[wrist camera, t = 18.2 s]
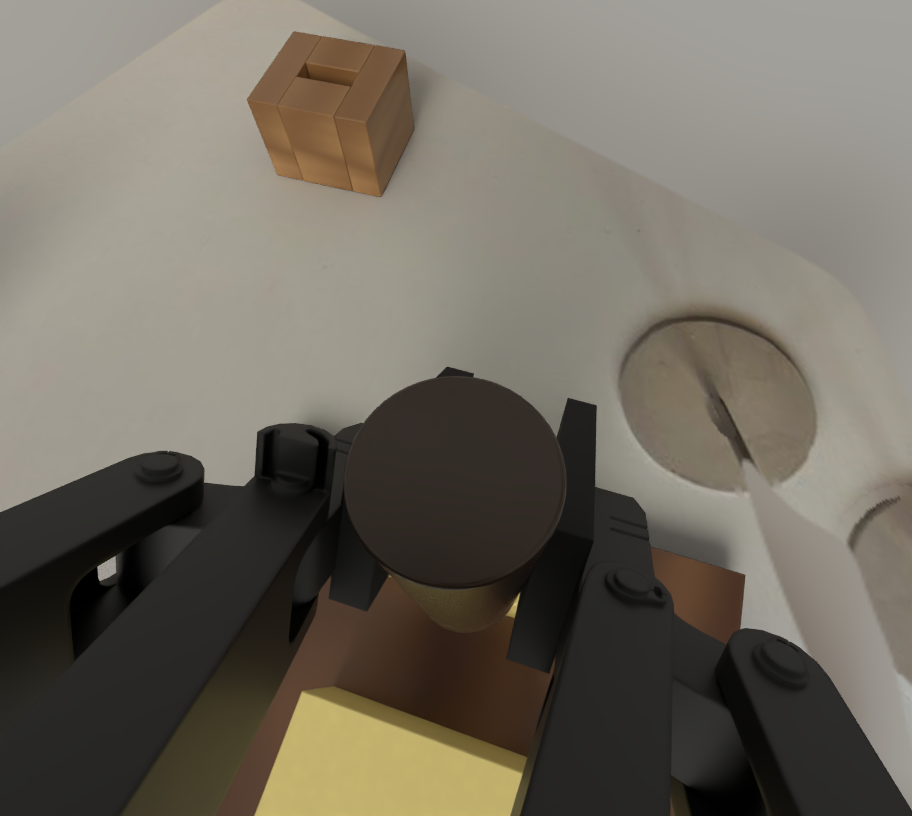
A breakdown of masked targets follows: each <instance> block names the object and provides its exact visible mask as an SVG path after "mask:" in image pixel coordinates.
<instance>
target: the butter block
mask: <svg viewBox="0 0 912 816" xmlns="http://www.w3.org/2000/svg"><path fill="white" fill-rule="evenodd" d="M526 760H527V757H525V756H523V755H520V754H517V753H514V752H512V751H509V750H506V749H503V748H501V747H498V746H495V745H493V744H490V743H487V742H484V741H482V740H479V739H476V738H473V737H471V736H468V735H465V734H463V733H460V732H457V731H454V730H452V729H449V728H446V727H443V726H441V725H438V724H435V723H433V722H430V721H427V720H424V719H422V718H419V717H416V716H413V715H411V714H408V713H405V712H403V711H400V710H397V709H394V708H392V707H389V706H386V705H383V704H381V703H378V702H375V701H373V700H370V699H367V698H364V697H362V696H359V695H356V694H353V693H351V692H348V691H345V690H343V689H340V688H337V687H334V686H332V687H325V688H318V689H311V690H304V691H302V692H301V695H300V698H299V700H298V703H297V705H296V708H295V711H294V713H293V716H292V718H291V721H290V724H289V726H288V729H287V732H286V734H285V737H284V739H283V742H282V745H281V747H280V750H279V752H278V755H277V758H276V760H275V763H274V766H273V768H272V771H271V773H270V776H269V779H268V781H267V784H266V786H265V789H264V792H263V794H262V797H261V800H260V802H259V805H258V807H257V810H256V813H255V815H254V816H510V815H511V811H512V808H513V805H514V801H515V798H516V794H517V791H518V787H519V784H520V781H521V777H522V774H523V770H524V767H525V764H526Z"/></svg>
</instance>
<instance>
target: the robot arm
mask: <svg viewBox="0 0 912 816" xmlns="http://www.w3.org/2000/svg"><path fill="white" fill-rule="evenodd" d="M473 375H474V373H470V372H466V371H462V370H458V369H454V368H450V367H446V368H445V369H444V370H443V371H442V372H441V373H440V374H439V375H438V376H437V377H436V378H439V377H448V376H464V377H473ZM596 410H597V405H593V404H589V403H585V402H582V401H578V400H574V399H570V398H568V399H567V403H566V406H565V410H564V414H563V417H562V421H561V424H560V428H559V431H558V435H557V440H558V443H559V445H560V448H561V450H562V454H563V458H564V462H565V469H566V478H567V481H566V497H565V503H564V508H563V511H562V514H561V517H560V520H559V523H558V525H557V527H556V529H555V531H554V533H553V535H552V537H551V539H550V540H549V542H548V544H547V546H546V547H545V549H544V551H543V553H542V555H541V556H540V558H539V560H538V562H537V563H536V565H535V567H534V569H533V570H532V572H531V574H530V576H529V577H528V579H527V581H526V583H525V585H524V586H523V588H522V590H521V592H520V596H519V600H518V605H517V610H516V614H515V619H514V624H513V629H512V633H511V638H510V643H509V647H508V652H507V657H506V659H507V660H510V661H513V662H516V663H519V664H522V665H525V666H528V667H530V668H533V669H536V670H539V671H542V672H545V673H548V674H549V673H550V670H551V667H552V664H553V661H554V658H555V665H554V672H553V675H552V677H551V680H550V683H549V686H548V689H547V692H546V695H545V698H544V701H543V704H542V707H541V710H540V713H539V716H538V719H537V722H536V725H535V733H534V736H533V740H532V743H531V747H530V750H529V753H528V757H527V760H526V764H525V767H524V770H523V774H522V777H521V781H520V784H519V787H518V791H517V794H516V798H515V801H514V805H513V808H512V811H511V815H510V816H670V809H671V801H672V806H673V810H674V815H675V816H912V810H911V808H910V807H909V805H908V803H907V802H906V800H905V799H904V797H903V795H902V794H901V792H900V791H899V789H898V787H897V786H896V784H895V783H894V781H893V779H892V778H891V776H890V774H889V773H888V771H887V769H886V768H885V767H884V765H883V763H882V761H881V760H880V759H879V757H878V755H877V753H876V752H875V750H874V748H873V747H872V745H871V744H870V742H869V741H868V739H867V737H866V736H865V734H864V732H863V731H862V729H861V728H860V726H859V724H858V723H857V721H856V719H855V718H854V716H853V715H852V713H851V711H850V710H849V708H848V706H847V705H846V703H845V702H844V700H843V698H842V697H841V695H840V694H839V692H838V690H837V689H836V687H835V685H834V684H833V682H832V681H831V679H830V678H829V676H828V675H827V674H826V673H825V671H824V670H823V669H822V668H821V666H820V665H819V664H818V663H817V662H816V661H815V660H814V659H813V658H811V657H810V656H809V655H808V654H807V653H805V652H804V651H803V650H802V649H801V648H799V647H798V646H796V645H795V644H793V643H792V642H789V641H788V640H786V639H784V638H782V637H780V636H777V635H774V634H771V633H768V632H766V631H763V630H757V629H748V628H744V629H741V630H738V631H734V632H733V634H732V635H731V637H730V639H729V640H728V642H727V644H725V643H723V642H721V641H719V640H717V639H715V638H713V637H711V636H710V635H708V634H706V633H704V632H702V631H700V630H698V629H697V628H695V627H693V626H692V625H690V624H688V623H687V622H685V621H684V620H683V619H681V618H680V617H679V616H678V615H676V614H675V613H674V602H673V599H672V595H671V593H670V592H669V591H668V589H667V588H666V587H665V586H664V584H663V583H662V582H661V581H659V580H658V579H657V578H655V573H654V567H653V560H652V553H651V547H650V542H649V534H648V530H647V520H646V514H645V512H644V511H643V509H642V508H641V507H640V505H639V504H638V503H637V502H636V500H635V499H634V498H632V497H628V496H625V495H621V494H618V493H614V492H611V491H607V490H604V489H600V488H597V487H595V459H596ZM362 425H363V423H359V424H356V425H353V426H350V427H347V428H344V429H342V430H341V431H340V432H339V433H338V434H336V435H335V436H333V435H332V434H330V433H328V432H327V431H325V430H324V429H320V428H317V427H314V426H311V425H304V424H297V423H289V424H277V425H272V426H268V427H266V428H264V429H262V430H260V431H258V432H257V447H256V463H255V476H254V477H253V478H252V479H251V480H250V481H249V482H248V483H247V484H246V485H245V486H230V485H221V484H211V483H204V467H203V465H202V463H201V462H200V461H199V460H197V459H195V458H194V457H192V456H189V455H185V454H181V453H178V452H172V451H169V452H168V451H157V452H152V453H144V454H140V455H137V456H134V457H130V458H127V459H125V460H123V461H120V462H118V463H116V464H113V465H111V466H109V467H106V468H104V469H102V470H99V471H97V472H94V473H92V474H90V475H87V476H85V477H83V478H80V479H78V480H76V481H73V482H71V483H69V484H66V485H64V486H62V487H59V488H57V489H54V490H52V491H50V492H47V493H45V494H43V495H40V496H38V497H36V498H33V499H31V500H29V501H26V502H24V503H21V504H19V505H17V506H14V507H12V508H10V509H7V510H5V511H3V512H0V816H216V814H217V811H218V809H219V807H220V805H221V803H222V801H223V799H224V797H225V795H226V793H227V791H228V789H229V787H230V785H231V783H232V781H233V779H234V777H235V775H236V773H237V771H238V769H239V767H240V765H241V763H242V761H243V759H244V757H245V755H246V753H247V751H248V749H249V747H250V745H251V743H252V741H253V739H254V737H255V735H256V733H257V731H258V729H259V727H260V725H261V723H262V721H263V719H264V717H265V715H266V713H267V711H268V709H269V707H270V705H271V703H272V701H273V699H274V697H275V695H276V693H277V691H278V689H279V687H280V685H281V683H282V681H283V679H284V677H285V675H286V673H287V671H288V669H289V667H290V665H291V663H292V661H293V659H294V657H295V655H296V653H297V651H298V649H299V647H300V645H301V643H302V641H303V639H304V637H305V635H306V633H307V631H308V629H309V627H310V625H311V623H312V621H313V619H314V617H315V615H316V610H317V605H318V597H319V591H320V590H321V588H322V587H323V586H324V584H325V583H326V582H327V580H328V579H329V578H330V576H331V583H330V590H329V598H328V599H331V600H334V601H337V602H340V603H343V604H345V605H348V606H351V607H354V608H357V609H360V610H363V611H366V612H367V611H368V610H369V608H370V606H371V605H372V603H373V601H374V599H375V598H376V596H377V594H378V593H379V591H380V589H381V588H382V586H383V584H384V582H385V581H386V579H387V577H388V576H389V574H388V573H387V572H386V571H385V570H384V569H383V568H382V567H381V565H380V564H379V563H378V562H377V561H376V560H375V559H374V558H373V557H372V556H371V555H370V554H369V553H368V552H367V550H366V549H365V548H364V546H363V545H362V544H361V542H360V541H359V539H358V537H357V535H356V534H355V532H354V530H353V528H352V526H351V523H350V520H349V517H348V514H347V510H346V506H345V501H344V490H343V481H344V470H345V465H346V460H347V456H348V453H349V450H350V447H351V445H352V443H353V441H354V439H355V437H356V434H357V433H358V431H359V430H360V428H361V427H362ZM114 556H116V573H115V574H114V575H112V576H111V577H109V578H107V579H104V580H102V581H99V579H98V570H97V566H99V565H101V564H102V563H104V562H106V561H107V560H109V559H111V558H112V557H114Z"/></svg>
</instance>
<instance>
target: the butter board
mask: <svg viewBox="0 0 912 816" xmlns="http://www.w3.org/2000/svg"><path fill="white" fill-rule="evenodd" d="M651 553H652V560H653V567H654V573H655V578H657V579H658V580H659V581H661V582H662V583H663V584H664V586H665V587H666V588H667V589H668V591H669V592H670V593H671V595H672V599H673V602H674V613H675V614H676V615H678V616H679V617H680V618H681V619H683V620H684V621H685V622H687V623H688V624H690V625H692V626H693V627H695V628H697V629H698V630H700V631H702V632H704V633H706V634H708V635H710V636H711V637H713V638H715V639H717V640H719V641H721V642H723V643H725V644H727V642H728V640H729V639H730V637H731V635H732V634H733V632H734V631H738V630H740V625H741V615H742V605H743V594H744V584H745V575H744V574H741V573H738V572H734V571H731V570H728V569H724V568H721V567H717V566H714V565H711V564H707V563H704V562H701V561H697V560H694V559H690V558H687V557H684V556H680V555H677V554H674V553H670V552H667V551H663V550H660V549H657V548H653V547H651ZM330 583H331V576H330V578H329V579H328V580H327V582H326V583H325V584H324V586H323V587H322V588H321V590H320V591H319V597H318V605H317V610H316V615H315V617H314V619H313V621H312V623H311V625H310V627H309V629H308V631H307V633H306V635H305V637H304V639H303V641H302V643H301V645H300V647H299V649H298V651H297V653H296V655H295V657H294V659H293V661H292V663H291V665H290V667H289V669H288V671H287V673H286V675H285V677H284V679H283V681H282V683H281V685H280V687H279V689H278V691H277V693H276V695H275V697H274V699H273V701H272V703H271V705H270V707H269V709H268V711H267V713H266V715H265V717H264V719H263V721H262V723H261V725H260V727H259V729H258V731H257V733H256V735H255V737H254V739H253V741H252V743H251V745H250V747H249V749H248V751H247V753H246V755H245V757H244V759H243V761H242V763H241V765H240V767H239V769H238V771H237V773H236V775H235V777H234V779H233V781H232V783H231V785H230V787H229V789H228V791H227V793H226V795H225V797H224V799H223V801H222V803H221V805H220V807H219V809H218V811H217V814H216V816H254V815H255V813H256V810H257V807H258V805H259V802H260V800H261V797H262V794H263V792H264V789H265V786H266V784H267V781H268V779H269V776H270V773H271V771H272V768H273V766H274V763H275V760H276V758H277V755H278V752H279V750H280V747H281V745H282V742H283V739H284V737H285V734H286V732H287V729H288V726H289V724H290V721H291V718H292V716H293V713H294V711H295V708H296V705H297V703H298V700H299V698H300V695H301V692H302V691H304V690H311V689H318V688H325V687H332V686H334V687H337V688H340V689H343V690H345V691H348V692H351V693H353V694H356V695H359V696H362V697H364V698H367V699H370V700H373V701H375V702H378V703H381V704H383V705H386V706H389V707H392V708H394V709H397V710H400V711H403V712H405V713H408V714H411V715H413V716H416V717H419V718H422V719H424V720H427V721H430V722H433V723H435V724H438V725H441V726H443V727H446V728H449V729H452V730H454V731H457V732H460V733H463V734H465V735H468V736H471V737H473V738H476V739H479V740H482V741H484V742H487V743H490V744H493V745H495V746H498V747H501V748H503V749H506V750H509V751H512V752H514V753H517V754H520V755H523V756H525V757H528V753H529V750H530V747H531V743H532V740H533V736H534V733H535V725H536V722H537V719H538V716H539V713H540V710H541V707H542V704H543V701H544V698H545V695H546V692H547V689H548V686H549V683H550V680H551V677H552V675H553V672H554V665H555V658H554V661H553V664H552V667H551V670H550V673H549V674H548V673H545V672H542V671H539V670H536V669H533V668H530V667H528V666H525V665H522V664H519V663H516V662H513V661H510V660H507V659H506V657H507V652H508V647H509V643H510V638H511V633H512V629H513V624H514V619H515V618H513V617H510V616H507V615H505V616H504V618H502V619H501V621H500V623H496V624H495V625H493V626H491V627H489V628H487V629H485V630H482V631H478V632H472V633H462V632H455V631H452V630H449V629H446V628H444V627H442V626H440V625H439V624H437V623H436V622H435V621H433V620H432V619H431V618H430V617H429V616H428V615H427V614H426V613H425V612H424V611H423V610H422V609H421V608H420V607H419V605H418V604H417V603H416V602H415V601H414V600H413V599H412V598H411V597H410V596H409V595H408V594H407V593H406V592H405V591H404V590H403V589H402V588H401V587H400V585H399V584H398V583H397V582H396V581H395V580H394V579H393V578H391V577H387V579H386V581H385V582H384V584H383V586H382V588H381V589H380V591H379V593H378V594H377V596H376V598H375V599H374V601H373V603H372V605H371V606H370V608H369V610H368V611H367V612H366V611H363V610H360V609H357V608H354V607H351V606H348V605H345V604H343V603H340V602H337V601H334V600H331V599H328V598H329V590H330ZM670 816H675V815H674V810H673V806H672V801H671V809H670Z"/></svg>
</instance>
